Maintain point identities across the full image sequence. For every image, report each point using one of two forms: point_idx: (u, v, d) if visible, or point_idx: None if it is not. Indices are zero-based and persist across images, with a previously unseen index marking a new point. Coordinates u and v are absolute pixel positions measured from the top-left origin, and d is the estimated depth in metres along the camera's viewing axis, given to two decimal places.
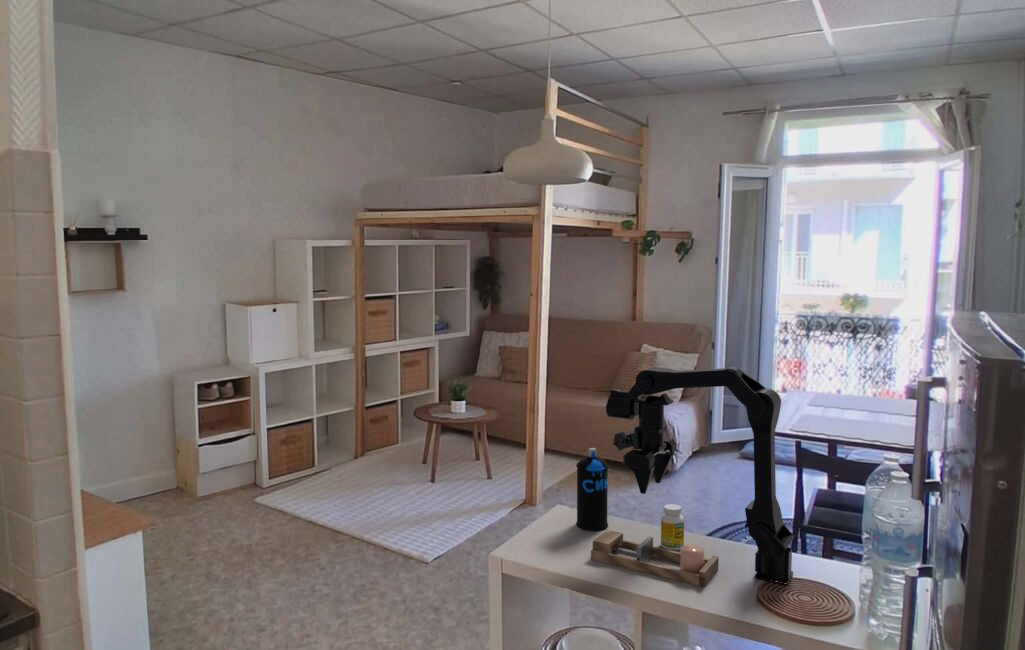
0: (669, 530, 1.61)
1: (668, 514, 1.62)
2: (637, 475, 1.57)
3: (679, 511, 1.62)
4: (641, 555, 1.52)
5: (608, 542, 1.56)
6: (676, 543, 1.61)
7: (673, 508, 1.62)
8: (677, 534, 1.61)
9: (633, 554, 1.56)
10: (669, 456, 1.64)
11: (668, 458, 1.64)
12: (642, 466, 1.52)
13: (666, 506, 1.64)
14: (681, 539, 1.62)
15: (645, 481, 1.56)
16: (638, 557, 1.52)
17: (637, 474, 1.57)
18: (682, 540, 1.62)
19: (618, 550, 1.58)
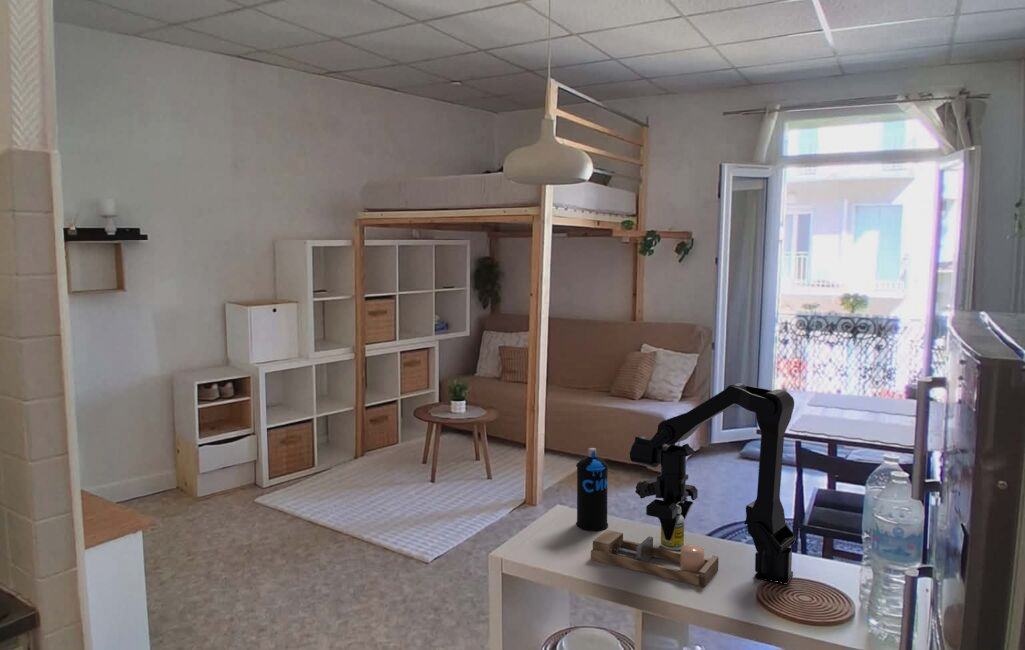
0: None
1: None
2: (662, 522, 1.60)
3: (679, 511, 1.62)
4: (641, 555, 1.52)
5: (608, 542, 1.56)
6: (676, 543, 1.61)
7: None
8: (677, 534, 1.61)
9: (633, 554, 1.56)
10: (688, 506, 1.65)
11: (687, 508, 1.65)
12: (665, 517, 1.54)
13: None
14: (681, 539, 1.62)
15: (670, 528, 1.60)
16: (638, 557, 1.52)
17: (662, 521, 1.60)
18: (682, 540, 1.62)
19: (618, 550, 1.58)
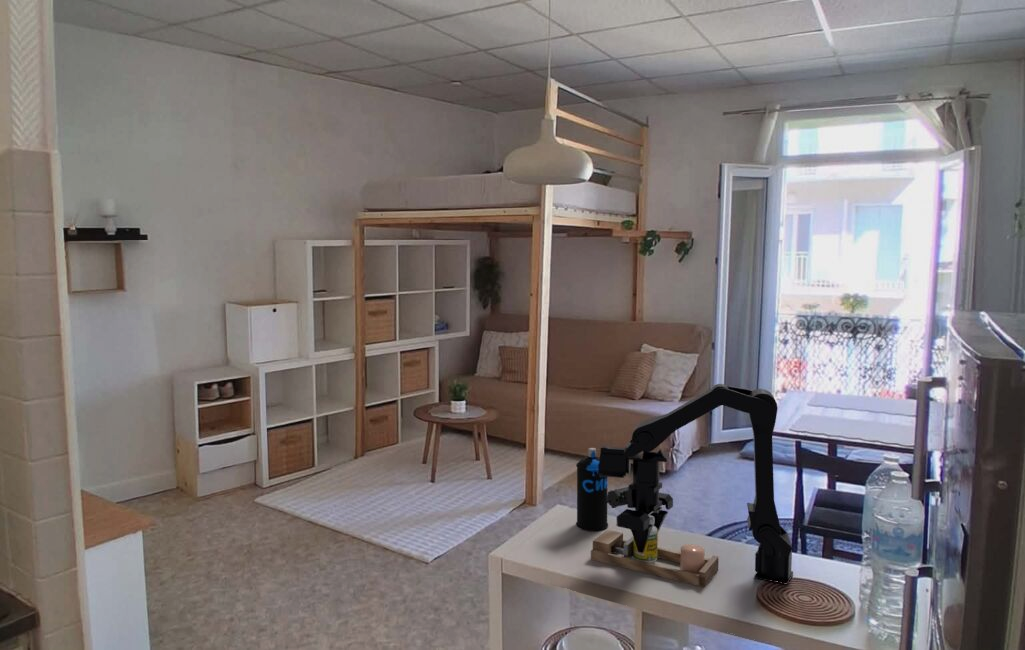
0: None
1: None
2: (634, 534, 1.51)
3: (652, 522, 1.53)
4: (628, 552, 1.53)
5: (608, 542, 1.56)
6: (648, 556, 1.52)
7: None
8: (650, 546, 1.52)
9: (620, 551, 1.57)
10: (662, 516, 1.56)
11: (661, 518, 1.56)
12: (636, 528, 1.45)
13: None
14: (654, 552, 1.53)
15: (643, 540, 1.51)
16: (625, 554, 1.53)
17: (634, 532, 1.51)
18: (655, 553, 1.53)
19: None
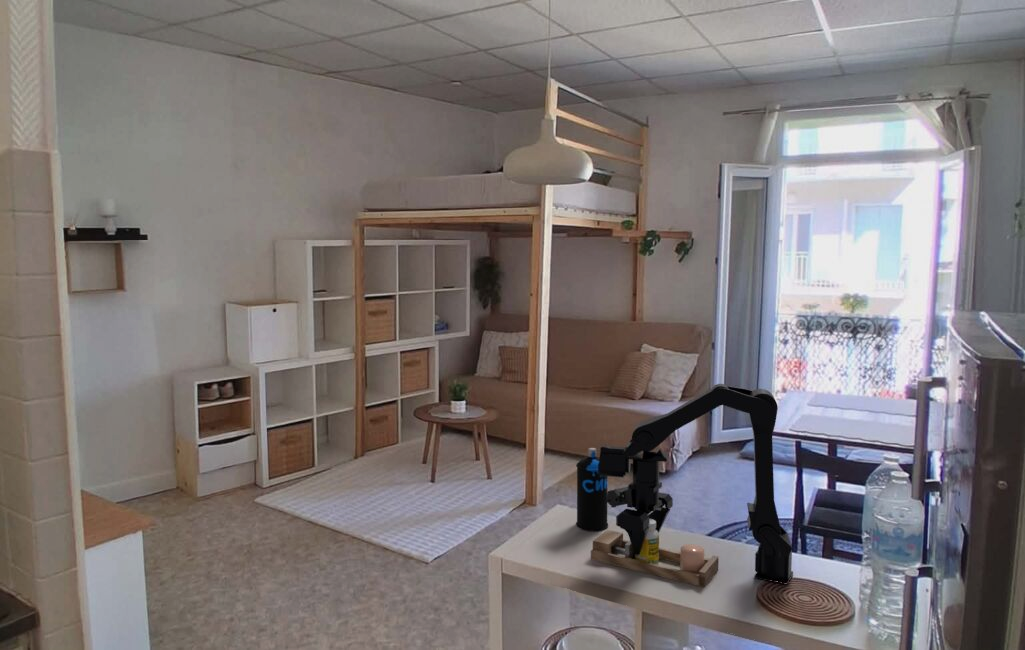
0: (643, 545, 1.52)
1: None
2: (630, 536, 1.50)
3: (653, 526, 1.52)
4: (629, 552, 1.53)
5: (608, 542, 1.56)
6: (650, 560, 1.52)
7: None
8: (652, 550, 1.52)
9: (622, 551, 1.57)
10: (665, 513, 1.57)
11: (664, 515, 1.57)
12: (636, 528, 1.45)
13: None
14: (656, 555, 1.53)
15: (639, 542, 1.49)
16: (626, 554, 1.53)
17: (631, 535, 1.50)
18: (657, 556, 1.53)
19: None
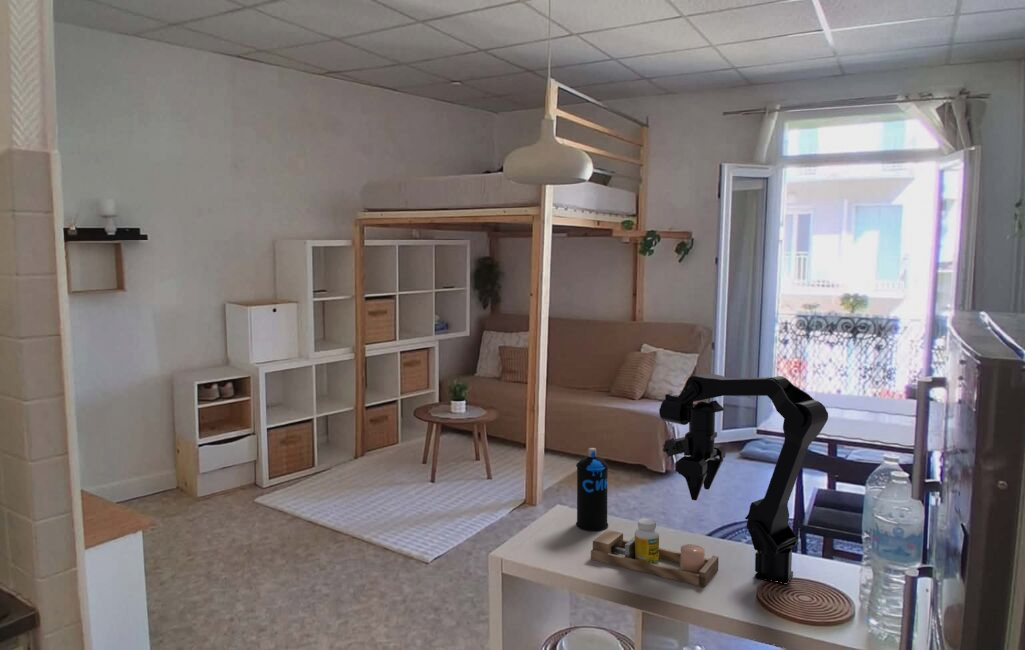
0: (643, 545, 1.52)
1: (642, 529, 1.53)
2: (688, 482, 1.56)
3: (654, 526, 1.52)
4: (629, 552, 1.53)
5: (608, 542, 1.56)
6: (650, 560, 1.52)
7: (647, 523, 1.53)
8: (652, 550, 1.52)
9: (622, 551, 1.57)
10: (719, 462, 1.64)
11: (718, 464, 1.64)
12: (695, 473, 1.52)
13: (640, 520, 1.54)
14: (656, 555, 1.53)
15: (697, 488, 1.56)
16: (626, 554, 1.53)
17: (689, 481, 1.56)
18: (657, 556, 1.53)
19: None
